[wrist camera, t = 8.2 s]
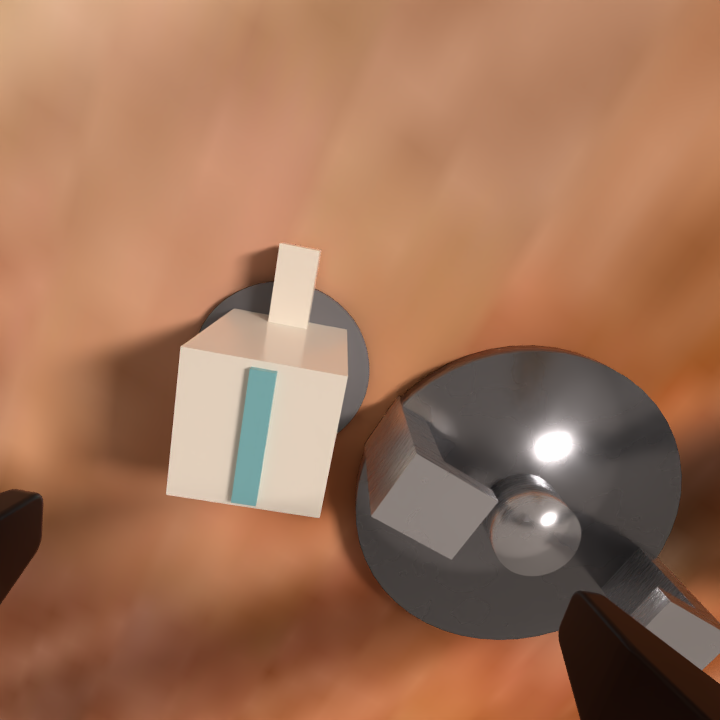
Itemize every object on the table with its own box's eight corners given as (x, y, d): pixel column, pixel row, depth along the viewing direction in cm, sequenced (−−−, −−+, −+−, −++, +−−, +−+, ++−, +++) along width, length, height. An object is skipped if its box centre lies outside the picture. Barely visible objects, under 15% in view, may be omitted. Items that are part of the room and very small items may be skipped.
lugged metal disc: (296, 540, 21) (282, 638, 16) (479, 279, 18) (530, 298, 13) (535, 663, 23) (586, 781, 18) (730, 450, 21) (855, 521, 16)
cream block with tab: (243, 233, 17) (188, 236, 11) (361, 257, 17) (369, 272, 11) (213, 474, 20) (155, 580, 14) (315, 490, 20) (303, 601, 14)
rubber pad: (316, 249, 18) (316, 249, 17) (397, 401, 19) (398, 404, 19) (161, 332, 18) (157, 335, 18) (253, 472, 20) (251, 477, 20)
